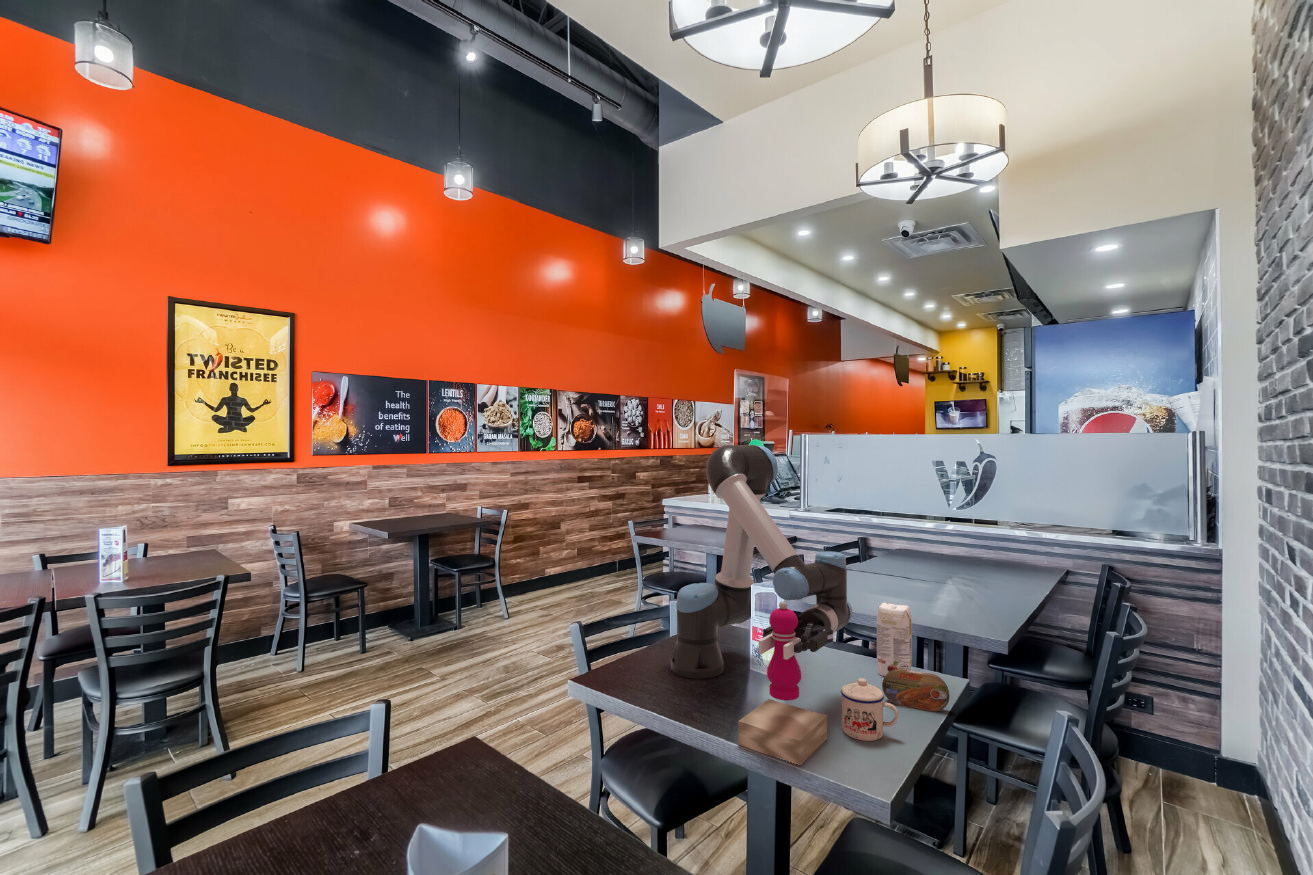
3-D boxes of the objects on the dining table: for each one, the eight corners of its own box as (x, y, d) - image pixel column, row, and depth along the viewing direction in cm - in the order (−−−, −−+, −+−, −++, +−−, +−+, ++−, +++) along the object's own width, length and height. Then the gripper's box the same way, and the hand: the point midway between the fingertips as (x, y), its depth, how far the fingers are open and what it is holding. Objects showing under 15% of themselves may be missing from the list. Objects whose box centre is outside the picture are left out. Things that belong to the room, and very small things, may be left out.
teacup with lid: (838, 736, 130) (837, 683, 131) (844, 719, 139) (843, 669, 139) (897, 748, 125) (896, 692, 125) (899, 730, 133) (899, 677, 134)
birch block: (738, 744, 127) (738, 720, 127) (768, 720, 138) (768, 698, 138) (800, 765, 118) (800, 740, 118) (827, 738, 129) (826, 715, 130)
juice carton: (908, 681, 161) (908, 611, 161) (875, 675, 165) (875, 606, 166) (913, 672, 167) (912, 604, 168) (881, 667, 172) (880, 600, 172)
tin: (882, 702, 148) (881, 668, 148) (883, 697, 151) (883, 664, 151) (949, 715, 141) (949, 679, 141) (949, 709, 144) (949, 674, 144)
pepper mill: (802, 689, 131) (801, 598, 131) (801, 703, 124) (799, 606, 124) (768, 686, 133) (767, 596, 133) (765, 699, 126) (764, 604, 126)
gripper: (854, 646, 137) (814, 677, 119) (781, 632, 148) (734, 659, 130) (853, 614, 137) (813, 639, 119) (781, 602, 148) (734, 624, 130)
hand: (772, 649), depth 124 cm, fingers closed on pepper mill, 5 cm apart
